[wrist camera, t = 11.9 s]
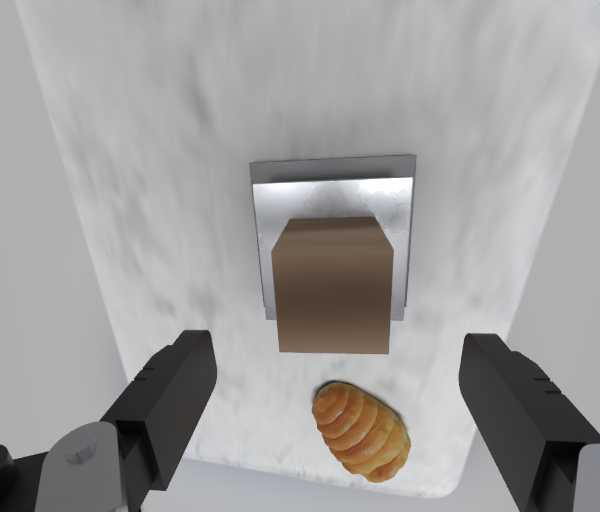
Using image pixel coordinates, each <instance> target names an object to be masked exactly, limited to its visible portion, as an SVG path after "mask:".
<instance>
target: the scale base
mask: <svg viewBox="0 0 600 512" xmlns="http://www.w3.org/2000/svg"><path fill="white" fill-rule="evenodd" d="M249 164H250V174H251V184H252V193H253V184H254V183H260V182H283V181H307V180H331V179H354V178H378V177H401V176H410V177H413V182H412V197H411V212H410V227H409V242H408V257H407V272H406V287H405V302H404V307H406V300H407V286H408V271H409V257H410V242H411V228H412V213H413V199H414V184H415V170H416V155H395V156H375V157H355V158H335V159H315V160H295V161H275V162H254V163H249ZM253 203H254V193H253ZM254 213H255V203H254ZM255 223H256V213H255ZM256 233H257V223H256ZM257 243H258V252H259V242H258V233H257ZM259 262H260V252H259ZM260 272H261V262H260ZM261 282H262V272H261ZM262 292H263V282H262ZM263 301H264V292H263ZM264 307H265V302H264Z"/></svg>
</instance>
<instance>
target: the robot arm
mask: <svg viewBox="0 0 600 512" xmlns="http://www.w3.org/2000/svg"><path fill="white" fill-rule="evenodd" d="M216 379H217V366H216V360H215V355H214V349H213V344H212V338H211V334H210V332H209V331H208V330H184V331H183V332H182V333H181V334H180V336H179V337H178V338H177V339H176V341H175V342H174V343H173V345H167V346H166V347H164V348H163V349H161V350H160V351H159V352H157V353H156V354H154V355H153V356H152V357H151V358H150V360H149V361H148V362H147V363H146V365H145V366H144V367H143V370H141V371H140V372H139V373H138V374H137V376H136V377H135V378H134V381H132V382H131V383H130V384H129V385H128V387H127V388H126V389H125V390H124V392H123V393H122V394H121V395H120V396H119V398H118V399H117V400H116V401H115V402H114V404H113V405H112V406H111V407H110V408H109V410H108V411H107V412H106V414H105V415H104V416H103V417H102V418H101V420H100V421H99V422H93V423H89V424H86V425H83V426H81V427H79V428H77V429H75V430H73V431H71V432H70V433H68V434H67V435H65V436H64V437H63V438H61V439H60V440H59V441H58V442H57V443H56V444H55V445H54V446H53V447H52V448H51V449H50V451H48V452H44V453H40V454H35V455H31V456H27V457H23V458H19V459H14V460H13V459H12V457H11V456H10V454H9V452H8V450H7V448H6V447H5V446H3V445H0V512H144V508H143V504H142V503H143V501H144V499H145V497H146V495H147V493H148V492H149V490H160V491H166V490H167V488H168V485H169V483H170V481H171V479H172V477H173V475H174V473H175V470H176V468H177V466H178V464H179V462H180V460H181V458H182V456H183V454H184V451H185V449H186V447H187V445H188V443H189V441H190V439H191V436H192V434H193V432H194V430H195V428H196V426H197V424H198V422H199V419H200V417H201V415H202V413H203V411H204V409H205V407H206V405H207V402H208V400H209V398H210V396H211V394H212V392H213V390H214V387H215V384H216ZM459 386H460V391H461V394H462V397H463V399H464V401H465V403H466V405H467V407H468V409H469V411H470V413H471V415H472V417H473V419H474V421H475V423H476V425H477V427H478V429H479V431H480V433H481V435H482V437H483V439H484V441H485V443H486V445H487V447H488V449H489V451H490V453H491V455H492V457H493V459H494V461H495V463H496V465H497V467H498V469H499V471H500V473H501V475H502V477H503V479H504V481H505V483H506V485H507V487H508V489H509V491H510V493H511V495H512V497H513V499H514V501H515V503H516V505H517V507H518V509H519V511H520V512H600V434H599V433H598V432H597V431H596V429H595V428H594V427H593V426H592V425H591V424H590V423H589V422H588V421H587V419H586V418H585V417H584V416H583V415H582V414H581V413H580V412H579V411H578V410H577V408H576V407H575V406H574V405H573V404H572V403H571V402H570V401H569V399H568V398H567V397H566V396H565V395H562V393H561V391H560V389H559V388H558V387H557V386H556V385H555V384H554V383H553V382H551V381H550V378H549V377H548V376H547V375H546V374H545V373H544V371H543V370H542V369H541V368H540V367H539V366H538V365H537V364H536V363H534V362H533V361H532V360H530V359H529V358H527V357H525V356H524V355H522V354H521V353H519V352H517V351H511V350H510V349H509V348H508V347H507V346H506V344H505V343H504V342H503V341H502V340H501V338H500V337H499V336H498V335H497V334H481V333H468V334H466V336H465V338H464V344H463V350H462V357H461V363H460V370H459Z"/></svg>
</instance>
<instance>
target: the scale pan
mask: <svg viewBox="0 0 600 512" xmlns="http://www.w3.org/2000/svg"><path fill="white" fill-rule="evenodd" d="M412 182H413V177H410V176H401V177H378V178H354V179H331V180H307V181H283V182H260V183H254V184H253V193H254V203H255V213H256V223H257V233H258V242H259V252H260V262H261V272H262V282H263V292H264V302H265V312H266V320H277V316H276V305H275V293H274V282H273V271H272V259H271V251H272V249H273V247H274V245H275V244H276V242H277V240H278V238H279V236H280V235H281V233H282V231H283V229H284V228H285V226H286V224H287V222H288V221H289V219H307V218H342V217H376V219H377V221H378V223H379V224H380V226H381V228H382V230H383V231H384V233H385V235H386V237H387V238H388V240H389V242H390V244H391V245H392V247H393V249H394V258H393V278H392V297H391V317H390V320H401V321H403V317H404V302H405V287H406V272H407V257H408V242H409V227H410V212H411V197H412Z"/></svg>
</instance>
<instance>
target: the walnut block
mask: <svg viewBox="0 0 600 512" xmlns="http://www.w3.org/2000/svg"><path fill="white" fill-rule="evenodd" d="M393 258H394V249H393V247H392V245H391V244H390V242H389V240H388V238H387V237H386V235H385V233H384V231H383V230H382V228H381V226H380V224H379V223H378V221H377V219H376V217H342V218H307V219H289V221H288V222H287V224H286V226H285V228H284V229H283V231H282V233H281V235H280V236H279V238H278V240H277V242H276V244H275V245H274V247H273V249H272V251H271V259H272V271H273V282H274V293H275V305H276V316H277V328H278V339H279V351H280V352H295V353H350V354H389V336H390V317H391V297H392V278H393Z"/></svg>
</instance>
